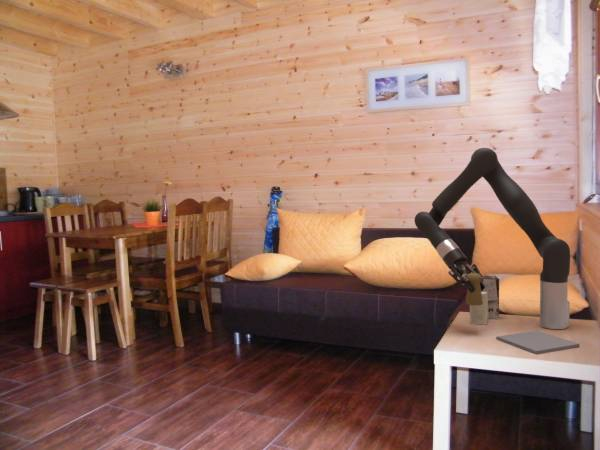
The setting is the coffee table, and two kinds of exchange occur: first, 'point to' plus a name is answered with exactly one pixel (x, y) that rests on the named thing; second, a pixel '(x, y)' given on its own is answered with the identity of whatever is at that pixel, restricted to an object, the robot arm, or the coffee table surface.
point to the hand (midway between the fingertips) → (478, 290)
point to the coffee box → (492, 295)
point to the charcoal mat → (537, 342)
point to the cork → (476, 296)
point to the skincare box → (480, 311)
